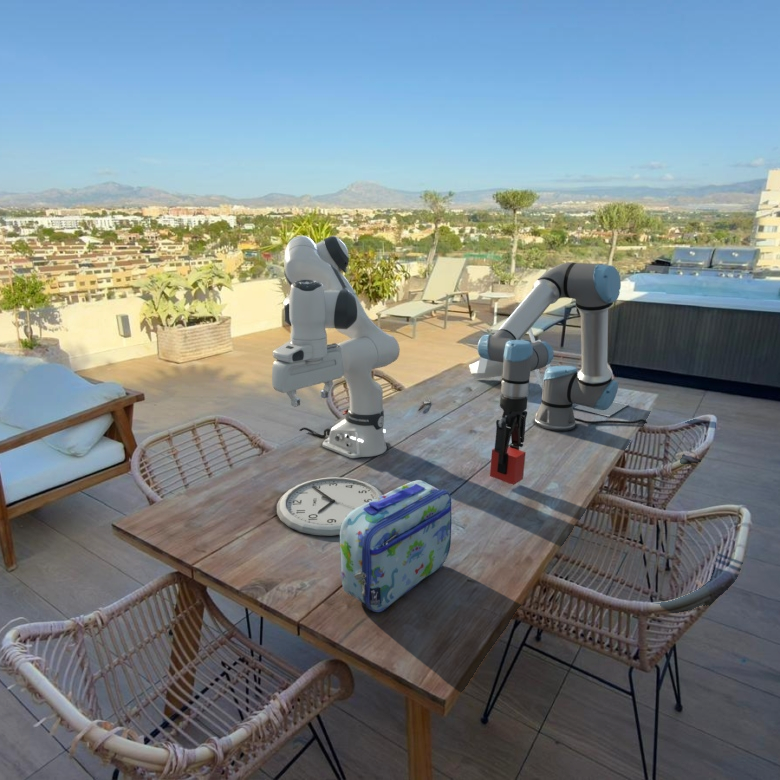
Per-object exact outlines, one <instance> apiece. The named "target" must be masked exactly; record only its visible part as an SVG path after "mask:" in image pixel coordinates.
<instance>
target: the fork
mask: <svg viewBox="0 0 780 780" xmlns="http://www.w3.org/2000/svg"><path fill="white" fill-rule="evenodd" d="M431 401H432V396H425V399H424V402H423V404H422V405H420V407H419V409H418V411H420V410H422V409H423V408H425V406H426V404H427V405H428V404H430V403H431Z"/></svg>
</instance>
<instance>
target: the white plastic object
mask: <svg viewBox="0 0 780 780" xmlns="http://www.w3.org/2000/svg"><path fill="white" fill-rule="evenodd" d="M527 333H528V336H529V339H530V342H532V343H535V342H538V341H539V342H541V341H542V340H541V339H537V340H536V338H535V335H534V332H533V329H532V327H531V328H530V329H529V331H528V332H527ZM468 366H469V371H470V374H471V376H472V377H473V379H474V380H480V379H489V378H496V377H501V378H502V377H503V363H502V362H497V361H491V360H488V359H485V358H482V357H480V356H479V360H477V361H475V362H473V363H471V364H468ZM545 367H546V369H548V368H550V367H552V366H551V363H549V364H548V365H546V366H545ZM533 371H534V374H535V376H536V379H537V383H538V386H539V387H540V389H541V390H542V391H543V381H544V380H543V378H542V375H541V372H540V368H539V369H536V370H533Z"/></svg>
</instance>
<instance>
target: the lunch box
mask: <svg viewBox="0 0 780 780" xmlns="http://www.w3.org/2000/svg"><path fill="white" fill-rule="evenodd" d="M383 494H384V495H382V496H380V497H378V498H376V499H374V500H372V501H370V502H368V503H366V504H364V505H362V506H360V507H358V508H356V509H354V510H353V511H351V512H350V513H349V514H348V515H347V516H346V518H345V519H344V521H343V523H342V526H341V530H340V535H339V551H340V574H341V576H340V577H341V585H342V588H343V589H342V590H343V591H344V593H346V594H348V595H350V596H352V597H353V598H355V599H357V600H358V601H359V602H361V603H362V604H364V605H365V606H366V608H367V609H369V610H370V611H371V612H374V613H381V612H384V611H385V610H386V609H387V608H389V607H390V606H391V605H392V604H393V603H395V602H396V601H397V600H399V599H400V598H401V597H402V596H404V595H405V594H407V593H408V592H410V591H411V590H412V589H413V588H415V587H416V586H417V585H418V584H419V583H420V582H421V581H423V580H425V579H426V578H427V577H429V576H430V575H432V574H434V573H435V572H436V571H438V570H439V569H440V568H441V567H442V566H443V565H444V563H445V562H446V560H447V558H448V556H449V553H450V550H451V549H450V548H451V545H452V543H451V542H452V497H451V494H450V492H449V491H448V490H446V489H438V488H437V487H435V486H434V485H431V484H429V483H427V482H426V481H424V480H421V479H416V480H413V481H410V482H408V483H405V484H403V485H401V486H399V487H397V488H394V489H393V490H390V491H388V492H387V493H383Z"/></svg>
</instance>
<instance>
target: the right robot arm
mask: <svg viewBox="0 0 780 780" xmlns="http://www.w3.org/2000/svg"><path fill="white" fill-rule="evenodd" d="M621 283H622V280H621V275H620V272H619V270H618V268H616V267H615V266H614V265H609V264H604V263H586V262H585V263H583V262H582V263H581V262H563V263H561V264H559V265H556V266H554V267H552V268H550V269H548V270H547V271H545V272H544V273H543V274H541V275H540V276H539V277H538V278H537V279H536V281H535V282H533V284H532V290H531V291H530V292H529V293H528V294H527V295H526V297H525V298H524V299H523V300H522V301H521V302H520V304H519V305H518V306H517V307H516V309H515V310H514V311H513V312H512V313H511V314H510V316H508V318H507V319H506V320H505V321H504V322H503V324H502V325H501V326H500V327H499V328H498V329H497V331H495V332H494V334H483V335H482V336H481V337H480V338H479V339H478V342H477V347H476V348H477V349H476V350H477V353H478V355H479V358H480V357H482V358H485V359H488V360H491V361H497V362H502V363H503V377H502V376H501V383H500V384H501V388H500V393H501V394H500V399H499V407H500V409H502V411H503V413H502V416H501V419H497V420H496V421H495V422H496V423H495V425H496V426H495V427H496V431H495V441H494V448H495V450H494V451H495V452H497V453H499V458H498V469H497V472H499V473H502V474H505V475H506V474H507V465H508V454H509V453H507V450H508V447H511V448H514V449H517V450H520V448H523V446H524V444H523V443H524V442H525V435H526V433H525V432H526V424H527V423H526V421H527V416H528V411H527V408H528V399H529V398H528V396H529V389H530V377H531V372H533V371H534V370H536V369H539V370H540V369H543V368H545V367H546V365H548V364H549V363H550V364H551V363H552V361H553V359H554V355H555V352H554V349H553V346H551V345H550V343H548V342H547V341H542V340H541V342H539V341H538V342H535V343H532V342H531V341H529V340H524V339H523V338H524V337H525V336H526V335H527V333H528V331H529V329H530V328H531V329H532V327H534V325H535V323H536V322H537V321H538V320H539V319H540V317H541V316H542V315H543V314H544V313H545V312H546V310H547V309H548V308H549V307H550V305H552V304H555V303H557V302H558V301H559V299H565V298H568V299H574V300H575V308H576V309H578V310H579V311H580V353H581V355H580V357H581V369H579V370H578V368H577V367H576V366H572V365H555V366H554V365H553V366H551V367H550V368H548V369H547V368H546V369H545V371H544V375H543V378H542V381H543V390H542V394H541V402H540V405H539V407H538V410H537V411H536V413H535V416H534V424H535V425H536V426H537V427H539V428H542V429H544V430H549V431H556V432H567V431H572V430H574V429H575V428H576V422H579V423H583V424H591V425H593V424H595V425H597V424H625V425H627V424H629V425H630V424H631V425H632V424H638V423H641V422H643V423H644V424H648V421H647V420H646V419H643V418H641V419H637V420H628V421H627V420H609V419H608V420H607V419H605V420H593V421H592V420H584V419H581V418H577V417H576V416H575V413H574V407H573V405H574V404H575V405H577V406H578V405H582V406H586V407H590V408H594V409H599V410H606V409H608V408H609V407H610V406H611V404H612V403H613V401H614V402H615V399H616V396H617V394H618V389H619V382H618V380H616V379H613V372H612V371H611V370H610V369H609V368H608V347H609V346H608V343H609V342H608V341H609V338H608V337H609V309H610V308H611V307H613V305H614V303H615V302H616V301H617V300H618V298H619V296H620V293H621V292H620V290H621V286H622V284H621ZM510 441H511V444H510ZM509 444H510V445H509Z"/></svg>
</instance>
